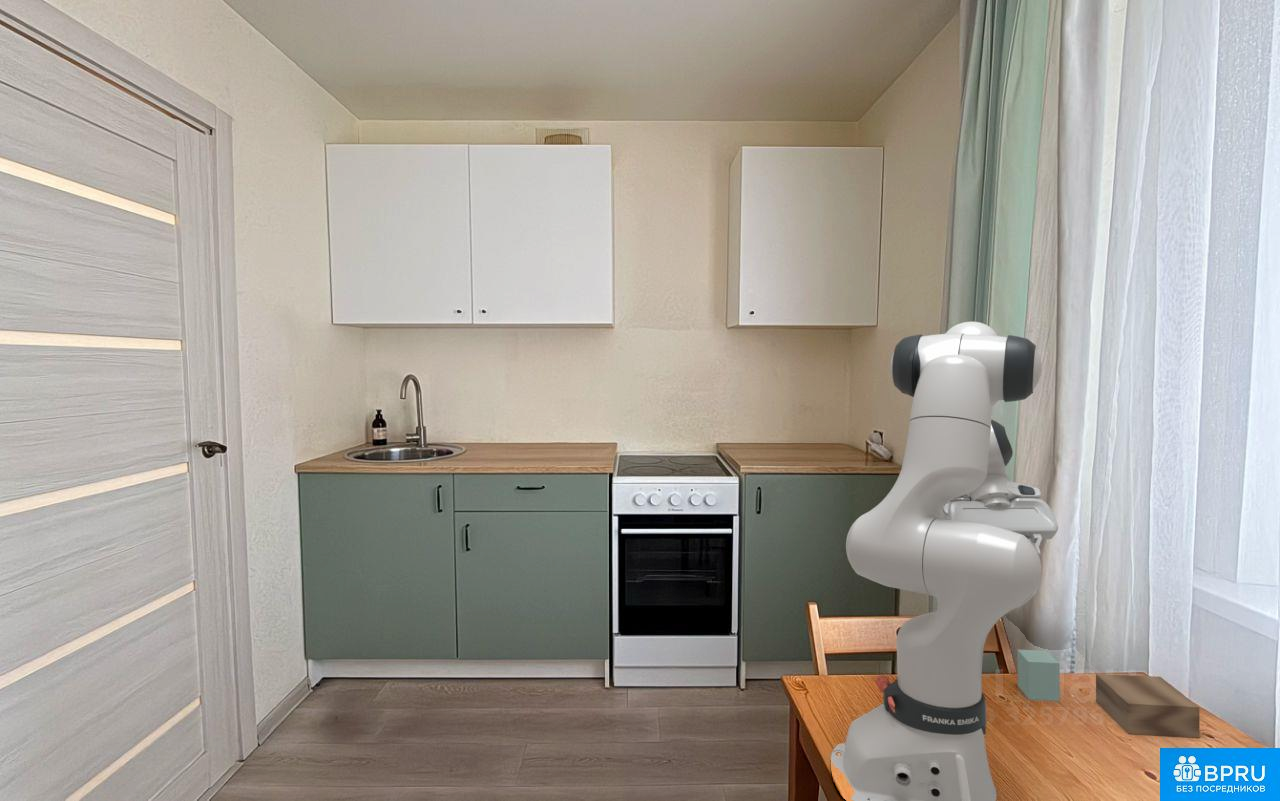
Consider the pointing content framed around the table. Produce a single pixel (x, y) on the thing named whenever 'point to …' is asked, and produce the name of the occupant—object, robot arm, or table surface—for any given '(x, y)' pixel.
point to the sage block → (1038, 675)
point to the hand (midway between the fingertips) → (1010, 556)
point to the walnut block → (1147, 705)
